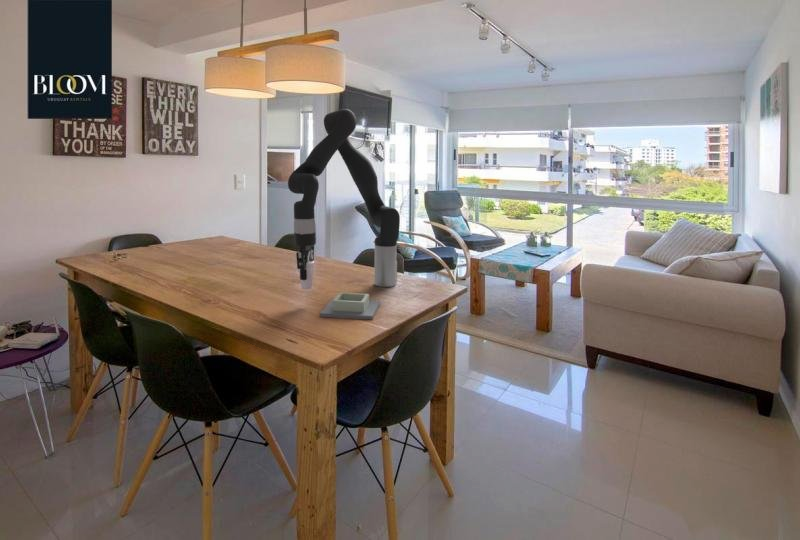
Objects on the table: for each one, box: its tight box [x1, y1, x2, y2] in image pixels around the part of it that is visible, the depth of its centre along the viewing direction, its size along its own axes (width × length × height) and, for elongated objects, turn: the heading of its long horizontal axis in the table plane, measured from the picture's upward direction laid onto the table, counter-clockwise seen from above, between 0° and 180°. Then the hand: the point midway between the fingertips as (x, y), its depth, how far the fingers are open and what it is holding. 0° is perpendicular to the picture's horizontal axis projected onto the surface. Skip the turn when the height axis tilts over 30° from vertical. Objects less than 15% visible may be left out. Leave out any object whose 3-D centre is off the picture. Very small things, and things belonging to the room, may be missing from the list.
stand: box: [319, 292, 381, 320], centre depth 171 cm, size 18×18×5 cm
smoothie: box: [298, 260, 316, 290], centre depth 173 cm, size 6×6×14 cm
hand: (306, 277), depth 174 cm, fingers closed on smoothie, 6 cm apart
